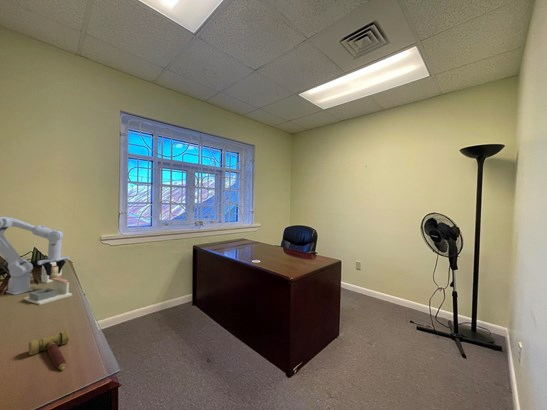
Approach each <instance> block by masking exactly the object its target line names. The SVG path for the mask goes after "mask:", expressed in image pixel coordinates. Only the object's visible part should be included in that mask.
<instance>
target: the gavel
mask: <svg viewBox="0 0 547 410" xmlns="http://www.w3.org/2000/svg"><path fill="white" fill-rule="evenodd" d="M69 341H70V333H69V331H68V330H64V331H59V333H56V334H54V335H50V336H47V337H44V338H41V339H38V338H37V339H34V340H31V341H29V343H28V353H29V356H30V355H31V356H34V355H37V354H39V352H43V351H46V350H47V352H48V355H49V356H50V359H51V361H52V363H53V365H54V368H55V369H59V370H60V371H63V370H65V368H66V362H67V361H66V360H65V358H64V355H63V353H62V351H61V350H60V348H59V345H61V346H62V345H63V344H64V345H66V344H68V343H69Z"/></svg>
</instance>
